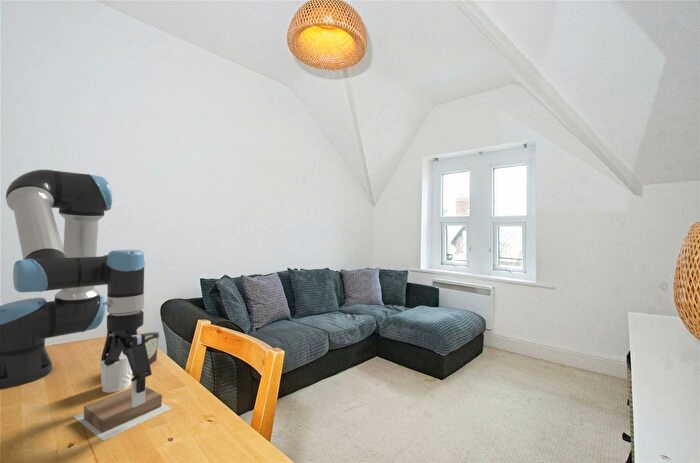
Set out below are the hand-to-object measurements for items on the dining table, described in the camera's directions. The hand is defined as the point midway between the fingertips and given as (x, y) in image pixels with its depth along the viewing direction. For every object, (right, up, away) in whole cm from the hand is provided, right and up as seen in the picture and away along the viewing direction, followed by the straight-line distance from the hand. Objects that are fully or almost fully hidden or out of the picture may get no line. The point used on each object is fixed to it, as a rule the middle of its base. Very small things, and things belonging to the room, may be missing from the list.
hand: (124, 396), depth 80 cm
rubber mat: (0, -5, 0) cm, 5 cm away
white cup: (-11, -5, +13) cm, 18 cm away
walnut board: (0, -4, 0) cm, 4 cm away
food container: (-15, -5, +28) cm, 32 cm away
